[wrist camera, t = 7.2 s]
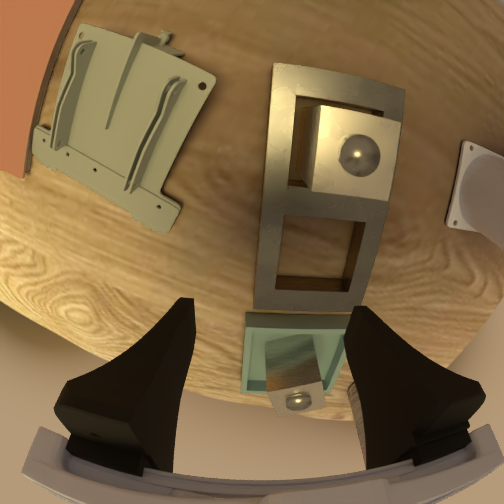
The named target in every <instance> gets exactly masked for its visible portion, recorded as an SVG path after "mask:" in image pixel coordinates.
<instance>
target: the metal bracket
mask: <svg viewBox="0 0 504 504" xmlns="http://www.w3.org/2000/svg"><path fill="white" fill-rule="evenodd" d="M161 31H162V32H161V34H159V35H158V37H155V36H152V35H149V34H145V33H142V32H138V33H137V34H136V35H135V37H126V36H124V35H121V34H118V33H115V32H112V31H109V30H106V29H103V28H100V27H96V26H93V25H89V24H86V23H85V24H81V25H80V26H79V28H78V31H77V33H76V36H75V39H74V41H73V44H72V47H71V50H70V53H69V56H68V59H67V63H66V66H65V69H64V73H63V76H62V80H61V84H60V88H59V92H58V96H57V100H56V105H55V110H54V115H53V120H52V126H51V130H48V129H46V128H44V127H42V126H40V125H38V126H36V128H35V129H34V134H33V144H32V153H33V154H34V156H35V157H36V159H37V160H38V161H39V162H40V163H41V164H43V165H44V166H46V167H47V168H49V167H50V168H51V169H52V171H54V172H56V170H57V169H58V170H59V171H61V172H63V173H64V174H66V175H68V176H69V177H71V178H73V179H74V180H76V181H77V182H79V183H81V184H82V185H84V186H86V187H87V188H89V189H91V190H92V191H94V192H96V193H97V194H99V195H101V196H103V197H104V198H106V199H108V200H109V201H111V202H113V203H114V204H116V205H118V206H119V207H121V208H123V209H125V210H126V211H128V212H130V213H131V214H132V217H131V218H132V219H134V220H136V221H140V222H141V223H142V224H143V225H144V226H146V227H148V228H150V229H151V230H153V231H155V232H160V233H168V232H169V231H170V229H171V227H172V225H173V223H174V221H175V219H176V217H177V215H178V213H179V212H180V210H181V206H180V205H179V204H178V203H177V202H175V201H173V200H171V199H170V198H168V197H166V196H164V195H163V194H162V193H161V188H162V185H163V183H164V181H165V179H166V177H167V174H168V172H169V170H170V168H171V166H172V164H173V162H174V160H175V158H176V156H177V154H178V152H179V150H180V148H181V146H182V144H183V142H184V140H185V138H186V136H187V134H188V132H189V130H190V128H191V126H192V124H193V122H194V121H195V119H196V117H197V115H198V113H199V111H200V110H201V108H202V106H203V104H204V103H205V101H206V99H207V97H208V96H209V94H210V92H211V90H212V89H213V87H214V85H215V84H216V81H217V79H216V77H215V76H214V75H213V74H211V73H209V72H207V71H205V70H203V69H201V68H199V67H197V66H195V65H193V64H191V63H189V62H187V61H184V60H182V59H180V58H178V57H176V56H181V55H185V53H184V52H182V51H180V50H176V49H175V48H173V47H171V46H169V45H166V44H165V43H166V42H168V40H169V39H170V37H169V36H170V34H172V33H171V32H170V31H167V30H161ZM82 32H83V33H84V37H83V39H81V37H80V35H81V33H82ZM201 82H204V83H205V84H206V85H207V87H206V89H205V90H201V89H200V88H199V84H200V83H201ZM44 139H45V141H44ZM67 152H68V153H69V155H68V154H67ZM94 168H96V170H97V171H95V170H94ZM158 205H160V206H161V208H160V207H158Z"/></svg>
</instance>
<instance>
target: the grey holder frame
mask: <svg viewBox="0 0 504 504" xmlns="http://www.w3.org/2000/svg"><path fill="white" fill-rule="evenodd" d="M296 97H297V98H305V99H312V100H319V101H325V102H331V103H336V104H342V105H347V106H352V107H357V108H361V109H366V110H370V111H373V112H372V115H374V116H378V117H382V118H386V119H390V120H394V121H397V122H401V127H400V135H399V142H398V149H397V156H396V162H395V168H394V173H393V179H392V184H391V189H390V194H389V199H388V201H384V200H377V199H370V198H363V197H356V196H348V195H340V194H331V193H323V192H313V191H311V190H310V188H309V187H308V186H307V184H306V183H305V182H304V181H298V180H288V174H289V164H290V154H291V144H292V134H293V123H294V112H295V100H296ZM404 99H405V89H402V88H398V87H395V86H392V85H389V84H385V83H382V82H378V81H374V80H370V79H367V78H363V77H358V76H354V75H350V74H345V73H340V72H335V71H330V70H325V69H319V68H313V67H306V66H299V65H292V64H283V63H273V66H272V71H271V84H270V97H269V109H268V122H267V135H266V147H265V160H264V172H263V184H262V196H261V208H260V220H259V232H258V244H257V256H256V268H255V279H254V291H253V309H263V310H287V311H324V312H352V311H353V308H354V306H361V303H362V300H363V297H364V294H365V291H366V288H367V284H368V281H369V278H370V274H371V271H372V268H373V264H374V261H375V257H376V254H377V250H378V246H379V242H380V238H381V235H382V231H383V226H384V222H385V218H386V214H387V209H388V205H389V200H390V195H391V190H392V185H393V180H394V174H395V169H396V163H397V157H398V150H399V143H400V136H401V128H402V120H403V110H404ZM284 215H294V216H306V217H317V218H328V219H339V220H349V221H355V226H354V231H353V235H352V240H351V244H350V249H349V253H348V257H347V261H346V265H345V269H344V273H343V277H342V279H330V278H308V277H288V276H277V268H278V260H279V252H280V244H281V236H282V228H283V219H284Z"/></svg>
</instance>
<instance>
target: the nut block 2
mask: <svg viewBox="0 0 504 504" xmlns="http://www.w3.org/2000/svg"><path fill="white" fill-rule="evenodd" d="M400 127H401V122H397V121H394V120H390V119H386V118H382V117H378V116H374V115H369V114H365V113H360V112H356V111H351V110H346V109H340V108H335V107H329V106H323V105H320V106H313V107H307V108H302V109H301V120H300V130H299V140H298V150H297V160H296V169H295V170H296V171H297V173H298V174H299V175H300V177H301V178H302V179H303V181H304V182H305V183H306V184H307V186H308V187H309V188H310V190H311V191H313V192H323V193H331V194H340V195H348V196H356V197H363V198H370V199H377V200H384V201H388V199H389V194H390V189H391V184H392V179H393V173H394V168H395V162H396V156H397V149H398V142H399V135H400Z"/></svg>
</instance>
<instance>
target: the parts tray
mask: <svg viewBox="0 0 504 504" xmlns="http://www.w3.org/2000/svg"><path fill="white" fill-rule="evenodd" d="M350 317H351V315H299V314H271V313H251V312H246V319H245V333H244V347H243V360H242V374H241V393H244V394H267V392H266V367H265V343H264V342H266V341H271V340H276V339H280V338H285V337H289V336H294V335H298V334H312V339H313V343H314V347H315V352H316V356H317V361H318V366H319V370H320V375H321V380H322V385H323V390H324V393H330V392H331V390H332V388H333V386H334V384H335V382H336V379H337V377H338V375H339V373H340V370H341V368H342V366H343V363H344V361H345V359H346V352H345V347H344V341H343V337H344V334H345V331H346V329H347V326H348V323H349V320H350Z"/></svg>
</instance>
